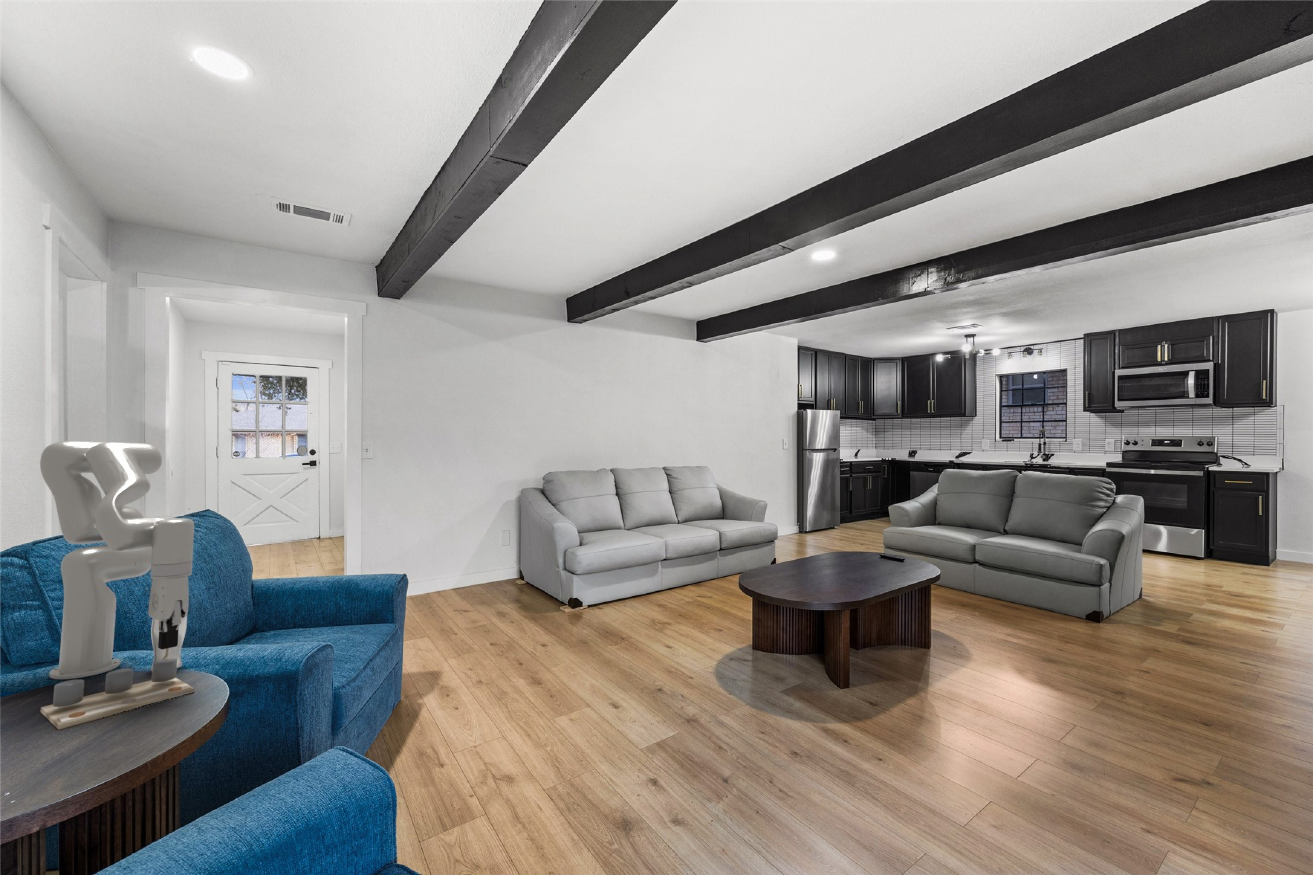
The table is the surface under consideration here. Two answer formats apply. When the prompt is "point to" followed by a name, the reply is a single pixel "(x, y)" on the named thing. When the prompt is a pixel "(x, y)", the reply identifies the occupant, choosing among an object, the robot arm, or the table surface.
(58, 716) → the button board
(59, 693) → the button
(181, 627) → the beer glass
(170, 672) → the button
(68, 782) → the table surface
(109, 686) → the button middle
